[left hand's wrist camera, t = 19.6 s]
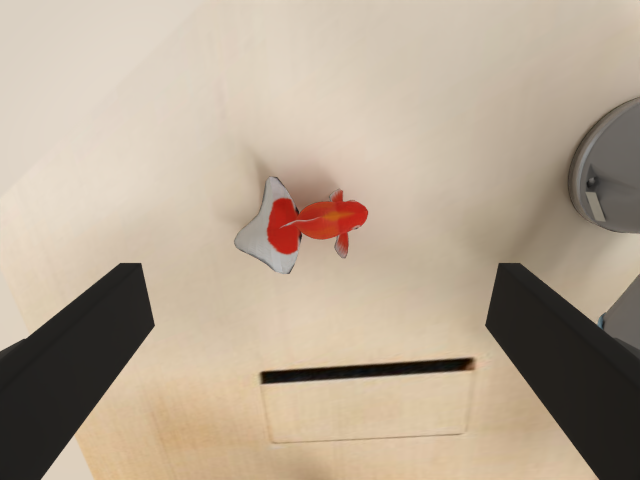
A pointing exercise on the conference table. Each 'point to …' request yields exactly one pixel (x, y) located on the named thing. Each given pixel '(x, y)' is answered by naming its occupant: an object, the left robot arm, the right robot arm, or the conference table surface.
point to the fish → (296, 226)
